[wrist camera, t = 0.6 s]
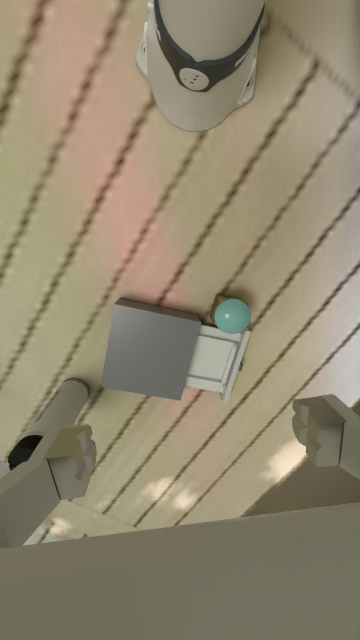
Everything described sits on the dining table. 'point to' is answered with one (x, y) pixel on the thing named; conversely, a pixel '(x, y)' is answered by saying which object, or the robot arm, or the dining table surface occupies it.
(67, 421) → the travel mug
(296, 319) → the dining table surface
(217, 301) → the brown wooden cube
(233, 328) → the teal flat dome
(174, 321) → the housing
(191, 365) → the light grey drawer
